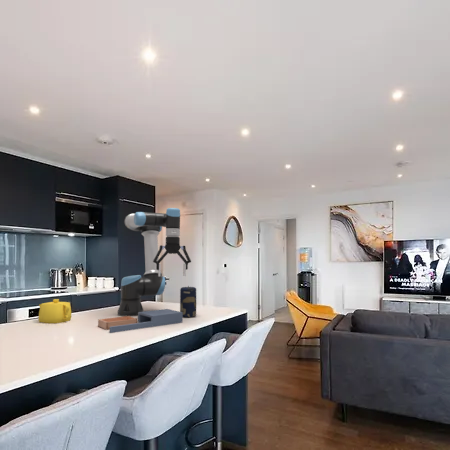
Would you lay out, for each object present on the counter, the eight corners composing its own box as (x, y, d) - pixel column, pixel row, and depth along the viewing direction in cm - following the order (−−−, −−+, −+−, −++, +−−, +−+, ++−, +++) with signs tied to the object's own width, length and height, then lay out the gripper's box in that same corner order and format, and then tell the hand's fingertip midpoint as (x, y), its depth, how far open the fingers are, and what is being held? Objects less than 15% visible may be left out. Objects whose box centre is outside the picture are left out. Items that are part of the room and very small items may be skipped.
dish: (98, 326, 175) (98, 319, 175) (127, 322, 185) (128, 315, 186) (106, 330, 167) (106, 322, 167) (137, 325, 177) (137, 318, 177)
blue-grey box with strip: (97, 327, 173) (98, 316, 173) (166, 318, 198) (167, 308, 198) (110, 332, 160) (111, 321, 161) (182, 322, 186) (182, 312, 186)
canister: (197, 315, 208) (197, 285, 210) (194, 318, 199) (194, 286, 200) (181, 315, 209) (182, 284, 211) (178, 317, 200) (178, 286, 201)
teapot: (30, 322, 187) (31, 299, 188) (48, 318, 199) (49, 297, 200) (59, 324, 181) (59, 301, 182) (76, 320, 192) (77, 298, 193)
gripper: (150, 235, 181) (149, 276, 179) (196, 236, 189) (196, 276, 187) (148, 236, 188) (147, 275, 186) (193, 237, 196) (192, 275, 194)
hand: (172, 276), depth 187 cm, fingers open, 13 cm apart
